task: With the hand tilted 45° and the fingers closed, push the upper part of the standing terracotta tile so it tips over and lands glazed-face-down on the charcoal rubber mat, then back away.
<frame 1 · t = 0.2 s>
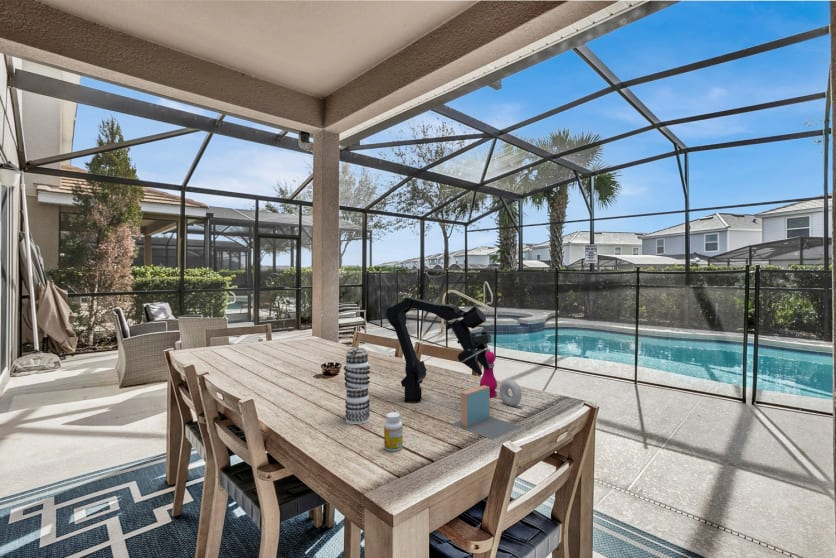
hand: (485, 372, 139), 15 cm above the table, tool tilted 30°, fingers open, 9 cm apart
terracotta tile: (475, 421, 129), resting on rubber mat
supplement bottle: (393, 448, 111), on the table
decorative candle: (357, 420, 133), on the table
rubber mat: (485, 426, 126), on the table
pepper mill: (488, 395, 160), on the table
donut: (510, 406, 147), on the table
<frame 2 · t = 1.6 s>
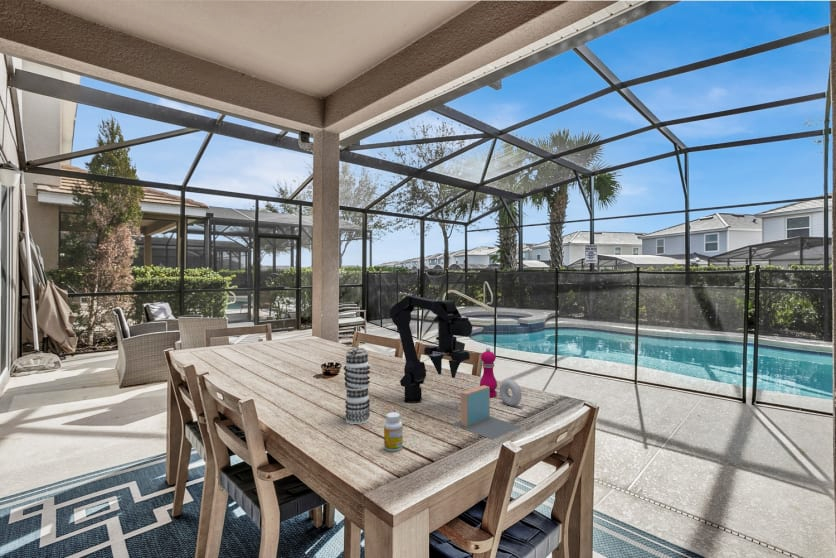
hand: (446, 376, 141), 13 cm above the table, tool pointing down, fingers open, 7 cm apart
nothing on the table moved.
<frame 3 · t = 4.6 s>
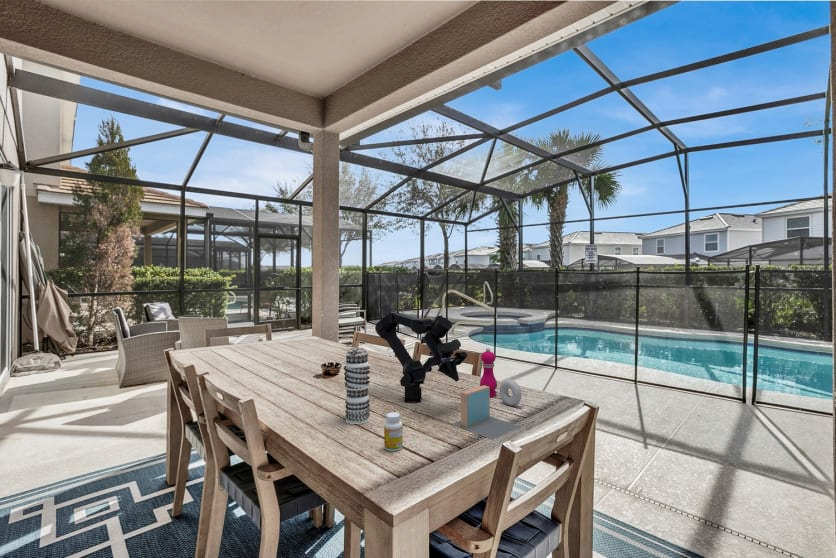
hand: (457, 380, 136), 13 cm above the table, tool tilted 45°, fingers closed
nothing on the table moved.
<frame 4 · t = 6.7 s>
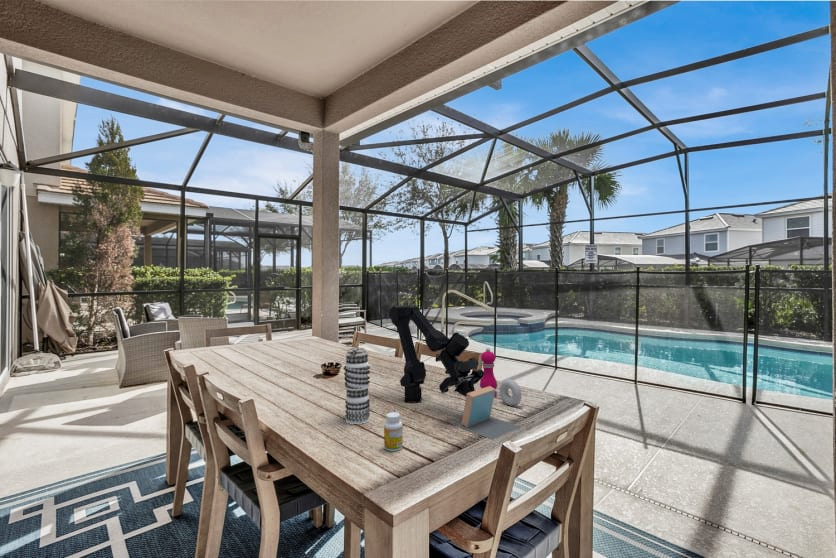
hand: (475, 401, 129), 7 cm above the table, tool tilted 45°, fingers closed
terracotta tile: (475, 420, 129), point 1 cm above the table, tilted 14°, touching rubber mat
everything else where it was.
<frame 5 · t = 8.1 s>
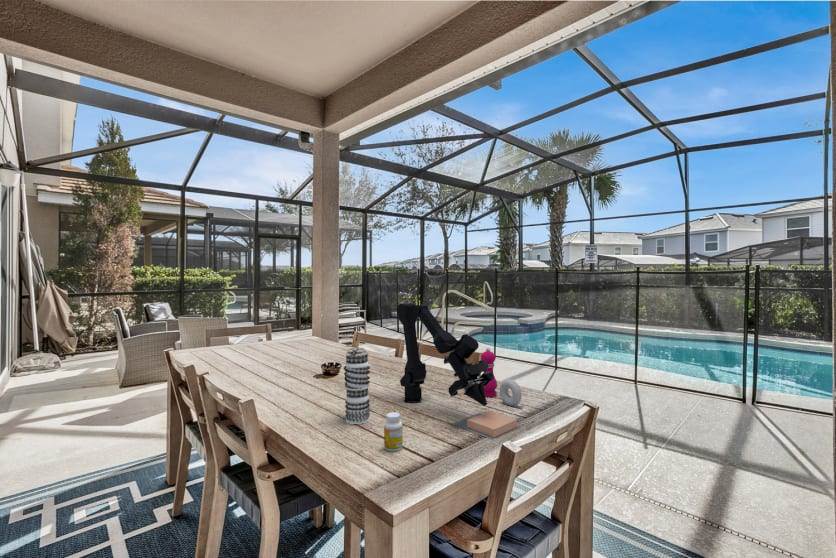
hand: (485, 405, 126), 7 cm above the table, tool tilted 45°, fingers closed
terracotta tile: (478, 418, 128), point 2 cm above the table, tilted 90°, touching rubber mat
everything else where it was.
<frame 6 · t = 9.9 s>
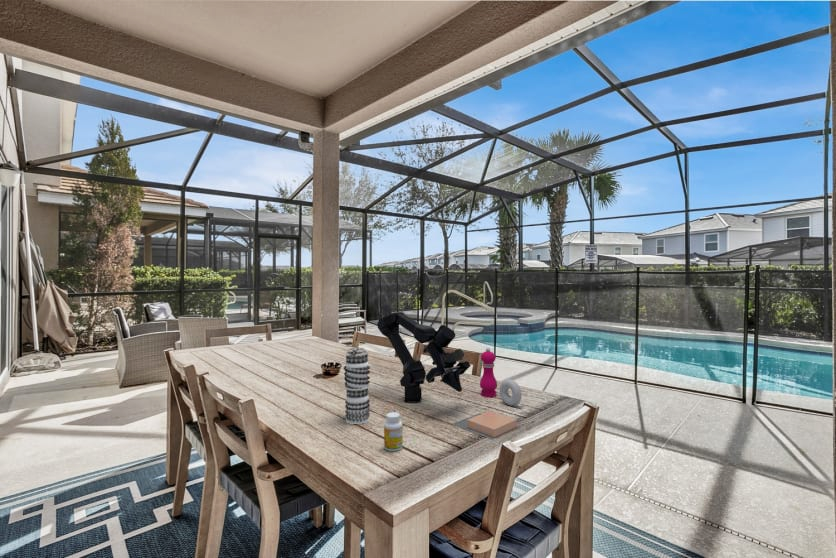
hand: (460, 391, 135), 9 cm above the table, tool tilted 45°, fingers closed
nothing on the table moved.
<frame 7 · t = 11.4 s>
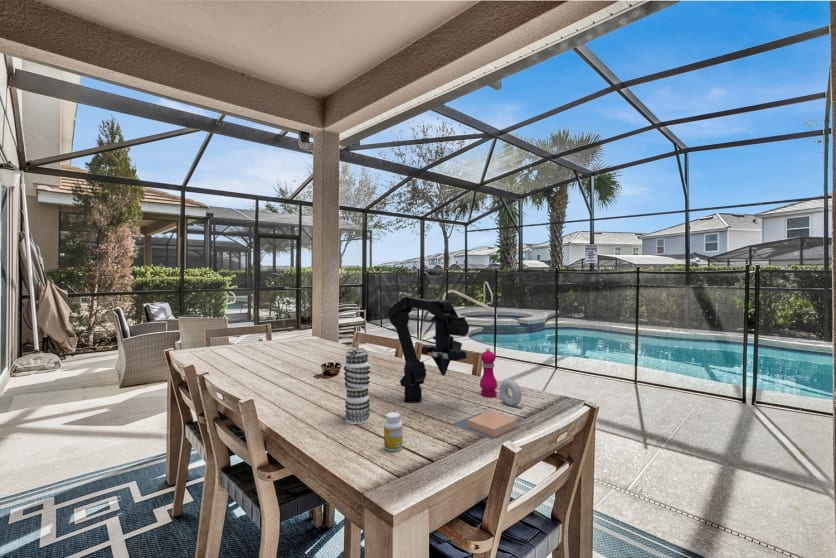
hand: (443, 375, 142), 13 cm above the table, tool pointing down, fingers closed
nothing on the table moved.
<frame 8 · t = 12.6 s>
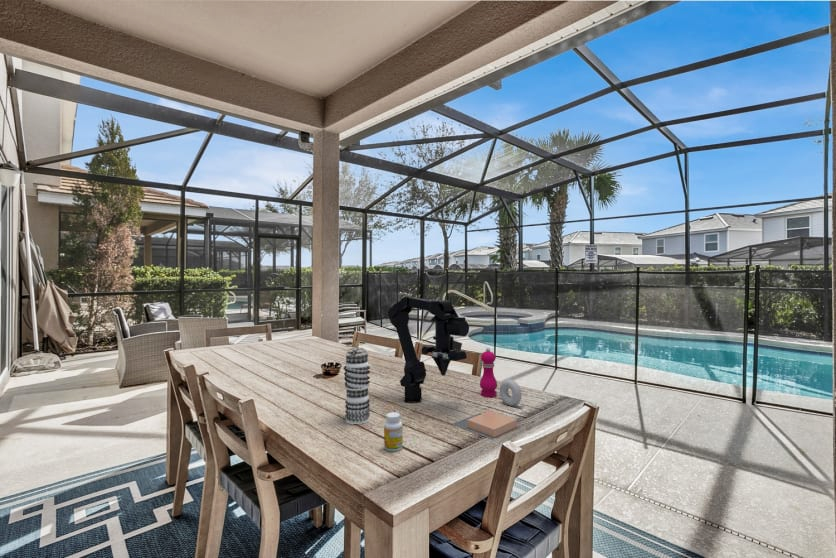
hand: (443, 375, 142), 13 cm above the table, tool pointing down, fingers closed
nothing on the table moved.
at the end: terracotta tile tilted 90°; terracotta tile point 1.7 cm above the table; terracotta tile 2.9 cm from the rubber mat (horizontally) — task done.
